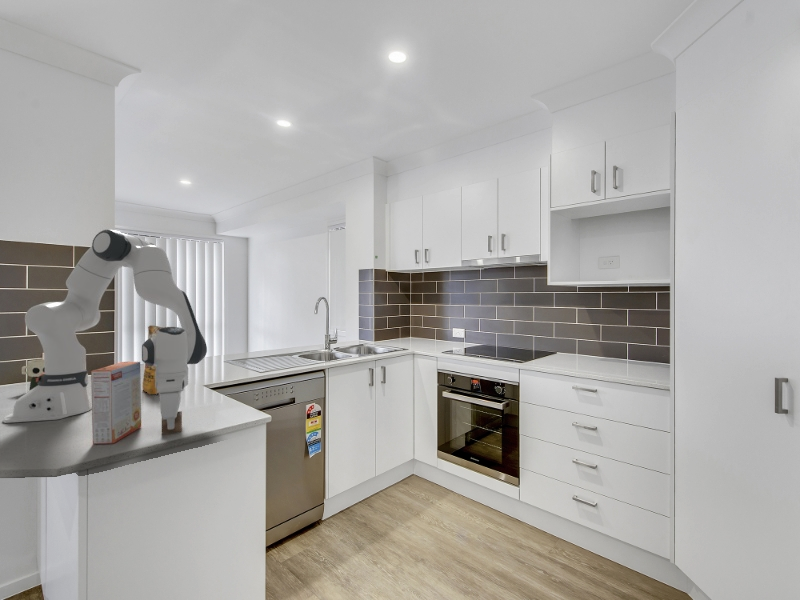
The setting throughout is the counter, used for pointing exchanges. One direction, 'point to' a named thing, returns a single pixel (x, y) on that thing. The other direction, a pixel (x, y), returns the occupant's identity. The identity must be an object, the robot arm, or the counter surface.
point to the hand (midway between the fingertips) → (172, 425)
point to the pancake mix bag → (150, 367)
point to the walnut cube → (177, 424)
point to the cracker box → (115, 401)
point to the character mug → (34, 371)
